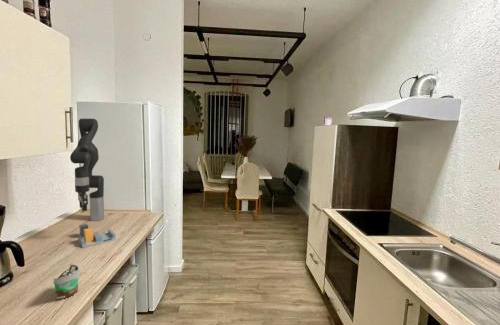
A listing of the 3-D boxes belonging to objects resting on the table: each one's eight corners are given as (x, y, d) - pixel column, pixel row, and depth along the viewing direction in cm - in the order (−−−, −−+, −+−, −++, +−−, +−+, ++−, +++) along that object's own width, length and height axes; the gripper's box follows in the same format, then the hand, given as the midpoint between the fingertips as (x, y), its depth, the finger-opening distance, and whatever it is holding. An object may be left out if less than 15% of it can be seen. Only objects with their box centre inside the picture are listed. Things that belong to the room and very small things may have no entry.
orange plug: (84, 240, 162) (83, 229, 161) (91, 238, 165) (91, 227, 164) (85, 242, 160) (85, 231, 159) (93, 240, 162) (92, 229, 161)
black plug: (79, 235, 171) (79, 225, 170) (87, 234, 174) (86, 223, 173) (81, 237, 168) (80, 227, 167) (88, 236, 171) (88, 225, 170)
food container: (70, 302, 108) (69, 279, 107) (54, 302, 107) (53, 279, 106) (86, 284, 120) (85, 263, 119) (72, 284, 119) (71, 263, 118)
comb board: (77, 240, 164) (77, 235, 164) (109, 233, 176) (109, 228, 176) (82, 248, 155) (82, 242, 154) (116, 240, 167) (115, 234, 166)
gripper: (72, 182, 169) (74, 207, 172) (77, 186, 159) (79, 213, 161) (86, 181, 174) (87, 205, 177) (91, 185, 164) (93, 210, 166)
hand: (83, 209), depth 169 cm, fingers open, 8 cm apart
